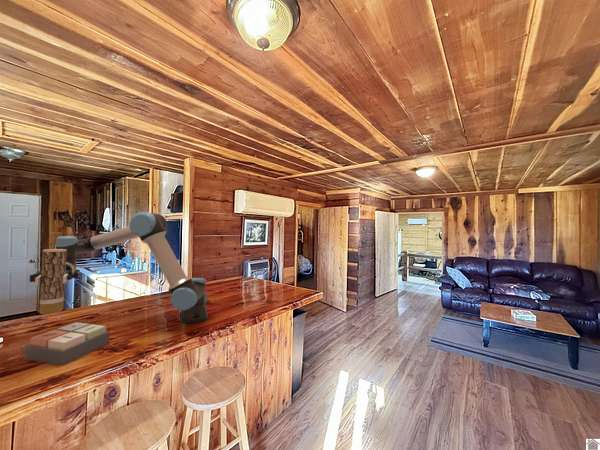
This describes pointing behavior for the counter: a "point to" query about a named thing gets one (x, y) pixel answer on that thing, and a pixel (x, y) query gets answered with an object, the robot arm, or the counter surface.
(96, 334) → the key sage
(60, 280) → the brown bark-patterned cylinder
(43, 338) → the key terracotta
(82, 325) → the key slate
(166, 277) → the robot arm
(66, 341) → the key cream
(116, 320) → the counter surface
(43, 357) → the keypad
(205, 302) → the cupcake
